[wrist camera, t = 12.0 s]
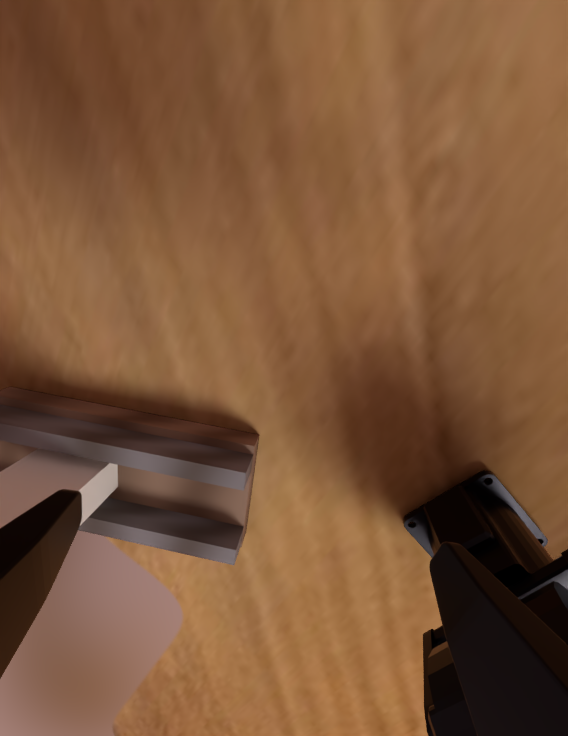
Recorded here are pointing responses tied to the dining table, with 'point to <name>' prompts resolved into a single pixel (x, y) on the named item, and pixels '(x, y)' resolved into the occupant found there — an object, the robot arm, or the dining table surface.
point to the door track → (144, 470)
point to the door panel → (54, 482)
